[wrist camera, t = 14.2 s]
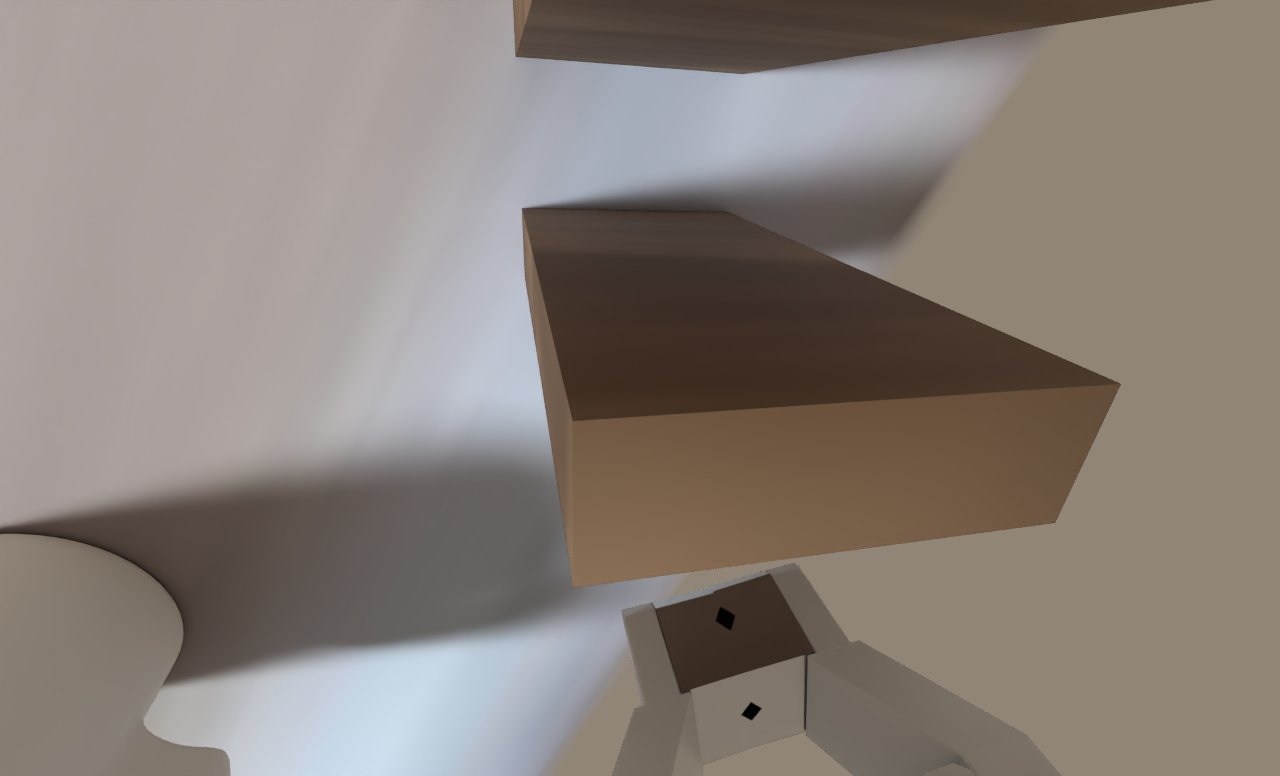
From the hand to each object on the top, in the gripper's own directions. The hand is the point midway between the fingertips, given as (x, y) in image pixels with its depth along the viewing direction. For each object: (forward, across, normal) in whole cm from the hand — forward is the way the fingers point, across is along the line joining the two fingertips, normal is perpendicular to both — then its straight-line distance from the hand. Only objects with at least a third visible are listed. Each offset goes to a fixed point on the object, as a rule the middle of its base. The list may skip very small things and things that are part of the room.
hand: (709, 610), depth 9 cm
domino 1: (+7, -1, -4) cm, 9 cm away
